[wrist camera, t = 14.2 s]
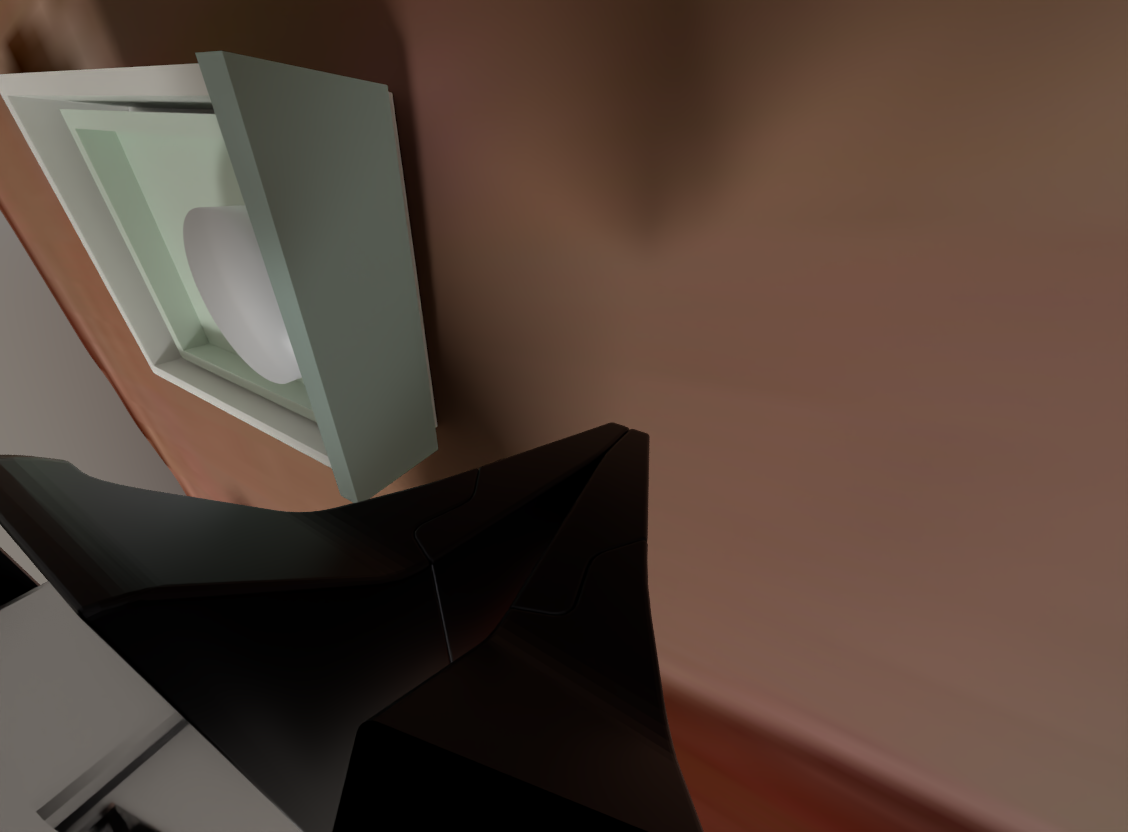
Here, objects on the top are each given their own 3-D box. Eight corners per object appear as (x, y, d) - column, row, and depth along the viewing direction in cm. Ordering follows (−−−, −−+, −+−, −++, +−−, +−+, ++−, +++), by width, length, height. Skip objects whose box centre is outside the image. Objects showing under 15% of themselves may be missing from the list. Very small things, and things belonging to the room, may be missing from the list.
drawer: (438, 449, 18) (359, 505, 15) (234, 359, 24) (148, 386, 21) (387, 85, 11) (221, 50, 8) (120, 88, 17) (-32, 69, 14)
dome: (374, 355, 15) (322, 375, 13) (303, 373, 18) (255, 390, 17) (289, 176, 13) (216, 175, 11) (227, 234, 16) (165, 240, 15)
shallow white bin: (437, 426, 19) (354, 480, 16) (243, 346, 25) (153, 373, 22) (392, 92, 12) (230, 61, 9) (142, 93, 18) (-10, 75, 15)
